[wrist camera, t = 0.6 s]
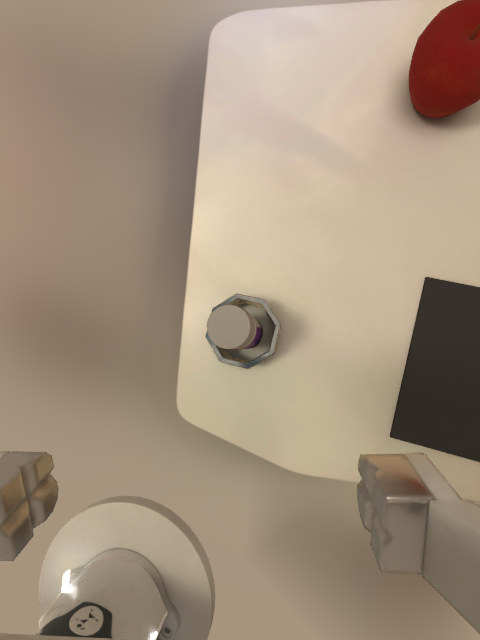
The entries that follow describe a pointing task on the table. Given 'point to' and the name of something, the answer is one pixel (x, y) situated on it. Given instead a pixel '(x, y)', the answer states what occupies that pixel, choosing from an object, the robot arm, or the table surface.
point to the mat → (443, 372)
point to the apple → (447, 61)
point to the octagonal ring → (240, 299)
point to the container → (233, 328)
